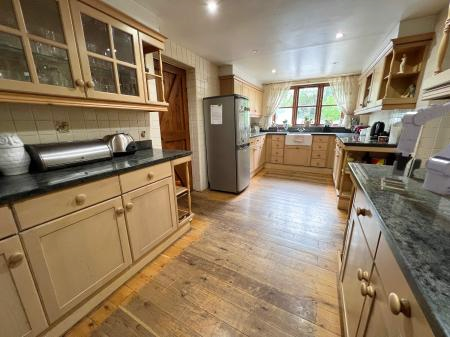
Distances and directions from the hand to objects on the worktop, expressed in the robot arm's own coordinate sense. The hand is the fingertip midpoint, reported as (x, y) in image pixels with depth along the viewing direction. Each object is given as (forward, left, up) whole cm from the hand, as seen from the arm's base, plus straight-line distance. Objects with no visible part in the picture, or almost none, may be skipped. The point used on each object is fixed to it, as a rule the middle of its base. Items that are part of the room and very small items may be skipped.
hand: (399, 169), depth 87 cm
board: (+3, -3, -10) cm, 11 cm away
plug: (0, 0, -3) cm, 3 cm away
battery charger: (+18, -27, -10) cm, 35 cm away
